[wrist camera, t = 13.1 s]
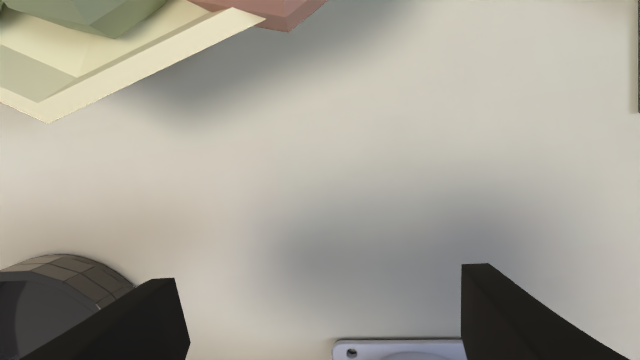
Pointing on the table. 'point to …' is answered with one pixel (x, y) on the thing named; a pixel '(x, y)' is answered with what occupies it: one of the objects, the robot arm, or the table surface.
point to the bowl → (51, 299)
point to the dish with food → (114, 43)
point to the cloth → (639, 56)
